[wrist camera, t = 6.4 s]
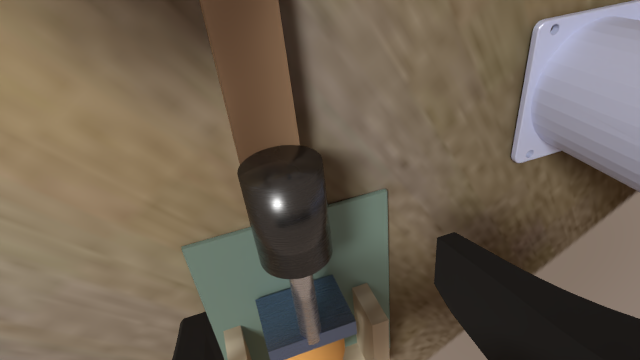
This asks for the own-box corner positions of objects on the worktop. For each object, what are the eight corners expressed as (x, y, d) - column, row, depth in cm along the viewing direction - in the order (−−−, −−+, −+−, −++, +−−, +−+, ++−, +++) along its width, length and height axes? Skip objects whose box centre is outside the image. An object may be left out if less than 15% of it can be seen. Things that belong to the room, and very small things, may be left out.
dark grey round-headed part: (211, 145, 17) (224, 204, 13) (313, 121, 18) (352, 169, 14) (258, 311, 23) (277, 385, 19) (334, 286, 24) (366, 351, 20)
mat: (385, 188, 22) (387, 191, 22) (388, 345, 30) (390, 348, 30) (181, 246, 20) (181, 249, 20) (241, 400, 27) (242, 403, 27)
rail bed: (259, -66, 14) (268, -66, 13) (298, 180, 20) (307, 196, 19) (185, -56, 14) (187, -55, 13) (247, 193, 20) (253, 212, 18)
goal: (367, 282, 25) (388, 319, 23) (370, 346, 29) (390, 384, 26) (223, 330, 23) (230, 377, 21) (246, 393, 27) (254, 438, 24)
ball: (352, 338, 21) (358, 384, 23) (327, 286, 24) (334, 330, 26) (278, 365, 20) (290, 410, 22) (263, 307, 23) (275, 351, 25)
